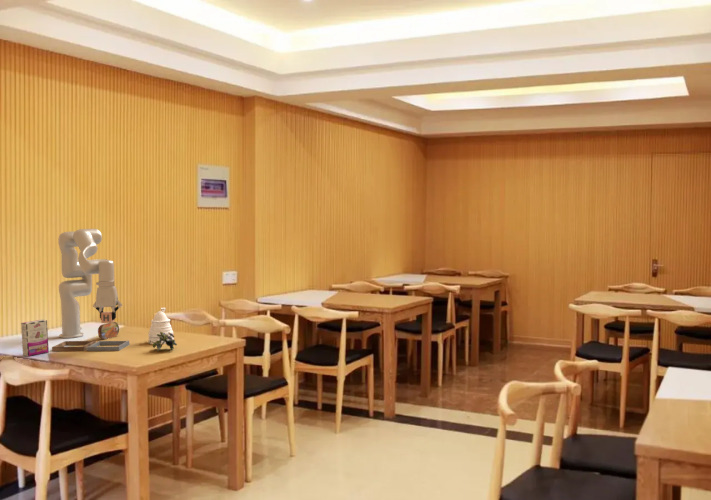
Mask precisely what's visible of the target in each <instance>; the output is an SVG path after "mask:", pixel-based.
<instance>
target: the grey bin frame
mask: <svg viewBox="0 0 711 500" xmlns="http://www.w3.org/2000/svg"><path fill="white" fill-rule="evenodd" d="M99 345H100V346H99ZM97 346H98V347H97ZM128 346H130V340H98V341H96V343H94V344H92V345H90V346H88V347H87V349H86V352H115V351H117V352H118V351H121V350H123V349H124V348H126V347H128Z"/></svg>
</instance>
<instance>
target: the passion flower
mask: <svg viewBox="0 0 711 500" xmlns="http://www.w3.org/2000/svg"><path fill="white" fill-rule="evenodd" d="M160 334H161V335H159V334H158V333H157V336H159V337H160V340H159V341H156V342H155V343H154V342H153V343H154V344H152V348H153V349H155V347H156V350H157V352H159V351H160V350H161V349H162V347H163V345H164V344H163V343H164V342H166V344H165V345H166V346H168V347H169V349H170V350H173V349H175V348H174V346H177V345H178V344H177V343H176V340H175V339H172V337H173V338H175V335H174V333H173V334H172V333H170V332H168V334H170V336H168V335H166V334H165V333H162V332H160ZM171 336H172V337H171ZM161 341H164V342H163V343H162V344H161ZM150 342H152V341H151V340H150ZM150 342H149V341H148V344H149V345H151V344H150Z"/></svg>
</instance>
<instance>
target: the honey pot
mask: <svg viewBox="0 0 711 500" xmlns="http://www.w3.org/2000/svg"><path fill="white" fill-rule="evenodd" d="M165 312H166V307H160V310H159V311H157V312H156V314H155V315H154V317H153V318H152V320H150V322H151V325H150V328H149V330H148V343H149V342H150V340H151V341H152V342H150V344H149V345H153V344H154V343H155V342H156V341H159V340H160V337H159V336H157V333H158V334H159V335H161V334H160V332H162V333H165V334H166V335H168V336H170V334H168V332H170V333H172V334H173V335H174V330H173V328H172V325H171V322H170V321H171V319H170V318H168V317H167V315H166V313H165ZM171 337H172V336H171ZM174 338H175V337H174ZM174 338H173V337H172V339H174ZM174 340H175V339H174ZM153 342H154V343H153ZM163 342H164V341H161V344H162V343H163ZM163 345H166V342H164V343H163Z"/></svg>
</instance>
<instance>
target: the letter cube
mask: <svg viewBox="0 0 711 500" xmlns="http://www.w3.org/2000/svg"><path fill="white" fill-rule="evenodd" d="M115 320H116V319H115ZM115 320H112V311H103V313H101V318H100V322H101V324H103V323H104V324H106V323H112V322H115Z"/></svg>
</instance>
